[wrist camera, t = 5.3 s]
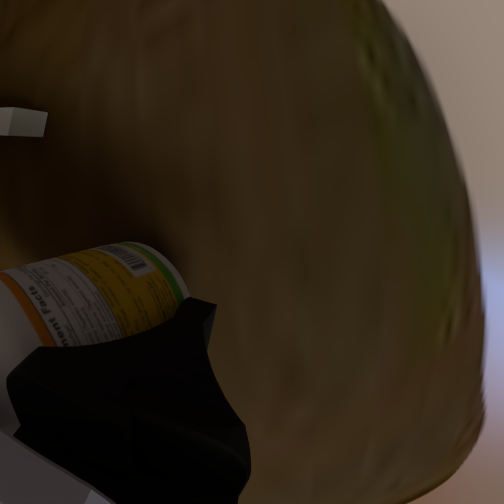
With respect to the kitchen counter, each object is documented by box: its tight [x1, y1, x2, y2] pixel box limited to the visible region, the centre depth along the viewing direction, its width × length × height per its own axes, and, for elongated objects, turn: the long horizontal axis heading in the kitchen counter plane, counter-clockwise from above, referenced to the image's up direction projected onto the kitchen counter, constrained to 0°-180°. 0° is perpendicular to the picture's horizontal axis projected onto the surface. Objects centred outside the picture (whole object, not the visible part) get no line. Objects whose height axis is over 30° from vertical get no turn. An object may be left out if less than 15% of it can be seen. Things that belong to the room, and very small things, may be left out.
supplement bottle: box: [0, 242, 190, 436], centre depth 8 cm, size 5×5×10 cm
